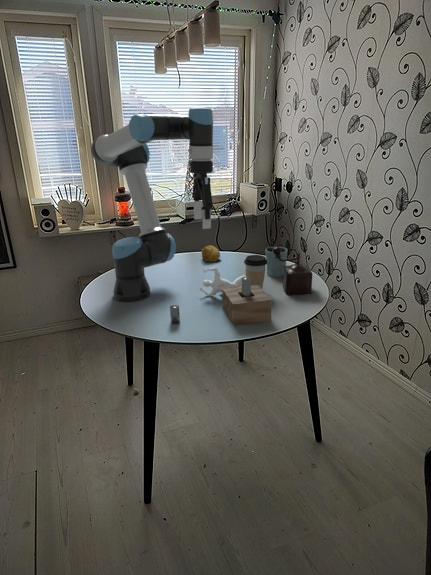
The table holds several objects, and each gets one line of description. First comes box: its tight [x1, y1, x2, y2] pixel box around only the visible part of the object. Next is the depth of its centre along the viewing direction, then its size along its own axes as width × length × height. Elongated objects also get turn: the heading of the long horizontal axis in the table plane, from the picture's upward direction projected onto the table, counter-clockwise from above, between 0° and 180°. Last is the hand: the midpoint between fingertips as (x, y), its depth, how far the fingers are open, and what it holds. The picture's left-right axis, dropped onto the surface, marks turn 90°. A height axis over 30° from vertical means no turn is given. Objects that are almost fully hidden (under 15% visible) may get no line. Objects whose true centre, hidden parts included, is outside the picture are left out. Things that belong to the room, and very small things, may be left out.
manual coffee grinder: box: [272, 246, 313, 296], centre depth 157 cm, size 16×11×18 cm
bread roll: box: [201, 245, 221, 262], centre depth 201 cm, size 13×10×8 cm
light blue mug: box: [264, 246, 288, 278], centre depth 176 cm, size 10×10×12 cm
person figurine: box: [199, 267, 246, 297], centre depth 153 cm, size 13×13×18 cm
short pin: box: [169, 304, 181, 325], centre depth 134 cm, size 3×3×6 cm
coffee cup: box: [243, 254, 267, 290], centre depth 156 cm, size 9×9×15 cm
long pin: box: [242, 277, 251, 298], centre depth 137 cm, size 3×3×14 cm
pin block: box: [222, 285, 273, 326], centre depth 138 cm, size 14×14×8 cm
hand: (202, 223), depth 133 cm, fingers open, 13 cm apart
